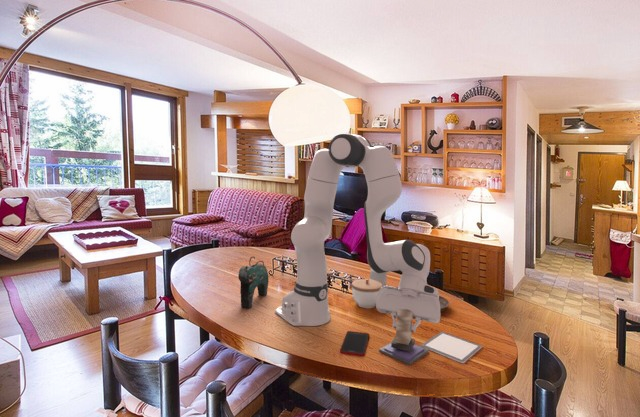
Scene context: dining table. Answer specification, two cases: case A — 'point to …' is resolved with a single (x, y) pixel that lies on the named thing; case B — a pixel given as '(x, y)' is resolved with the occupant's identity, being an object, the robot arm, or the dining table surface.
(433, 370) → the dining table surface
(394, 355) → the ink pad
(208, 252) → the dining table surface
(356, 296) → the lidded bowl
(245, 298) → the green elephant figure
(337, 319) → the dining table surface
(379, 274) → the can
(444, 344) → the marked square
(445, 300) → the plant saucer
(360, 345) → the cell phone
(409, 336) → the stamp
